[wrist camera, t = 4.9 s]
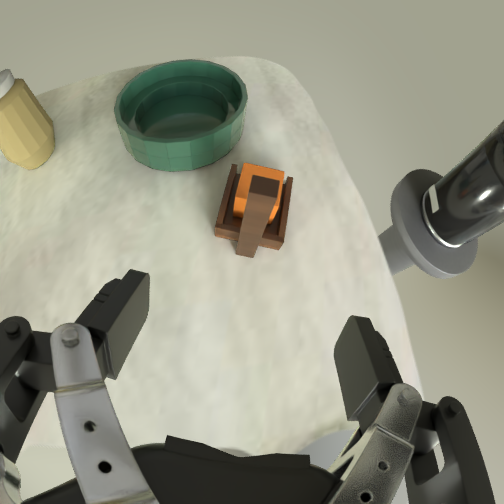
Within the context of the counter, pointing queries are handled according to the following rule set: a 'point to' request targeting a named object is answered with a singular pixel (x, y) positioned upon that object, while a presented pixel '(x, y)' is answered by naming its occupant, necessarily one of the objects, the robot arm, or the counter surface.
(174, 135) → the green pet bowl
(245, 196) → the block
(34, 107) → the squeeze bottle
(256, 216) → the scoop
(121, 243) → the counter surface
